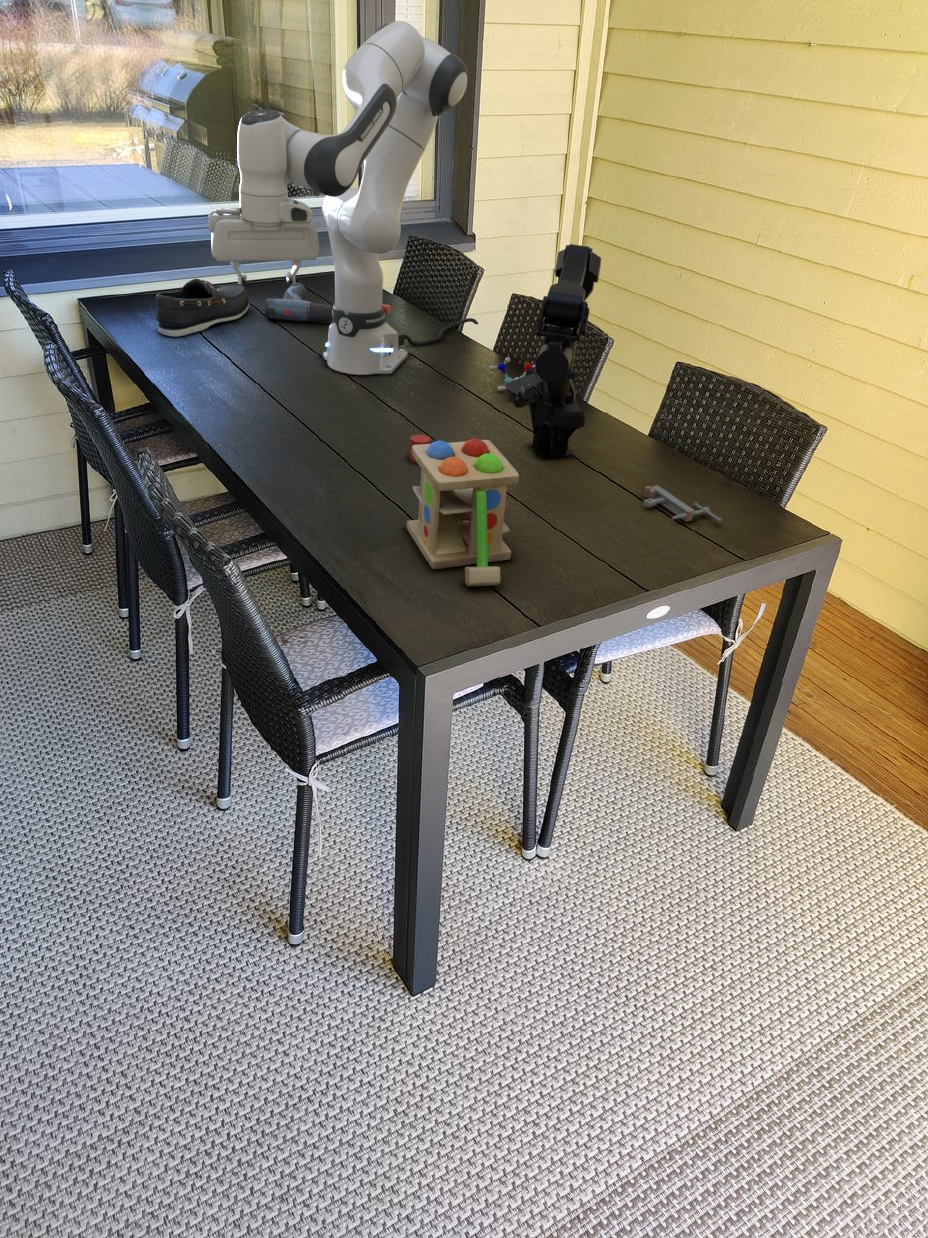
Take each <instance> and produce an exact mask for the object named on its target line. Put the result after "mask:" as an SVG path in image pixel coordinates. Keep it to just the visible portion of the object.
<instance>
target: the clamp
mask: <svg viewBox="0 0 928 1238" xmlns="http://www.w3.org/2000/svg"><path fill="white" fill-rule="evenodd" d="M643 498H647V499H644V500H643V506H644V507H646V508H651V507H656V505H659V504H660V505H662V507H664V508H665V509H668V511H670V512H671V513H673V514H674V516H672V517H671V520H673V521H674V520H680V519H681V520H683V521H684V522H691V521H693V516H697V515H702V516H704V515H709V516H710V517H712V518H713V519H715V520H716V521H717V523H719V524H721V523H722V522H723V518H722V517H719V516H717V515H715V514H714V513H712V512H711V508H710V507H708V506H705V507H703V506H701V505H699V503H698V502H697V501H695V502H694V503H693V507H694V508H698V510H695V509H693V508H692V507H691V506H689V505H687V504H686V503H685V502H683V501H682V500H680V499H679V498H677V497H676V496H674V495H673V494H671V493H670V492H669V491H667V490H666V489H664V488H663V487H660V486H659V485H657V484H656V485H653V486H650V485H649V486H645V487H644V492H643Z"/></svg>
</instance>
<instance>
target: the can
mask: <svg viewBox="0 0 928 1238" xmlns="http://www.w3.org/2000/svg"><path fill="white" fill-rule="evenodd" d="M431 442H432V439H431V437H430V436H429V435H426V434H420V433H419V434H413V435H411V436H410V444H409V445H410V447H409V460H410V461H411V462H413V463H414V464H415V463H416V464H418V463H417V462H416V460H415V459H414V457H413V456H412V446H413V445H421V444H432V443H431Z"/></svg>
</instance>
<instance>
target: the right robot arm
mask: <svg viewBox="0 0 928 1238" xmlns="http://www.w3.org/2000/svg"><path fill="white" fill-rule="evenodd" d="M593 249H594V248H593V247H590V246H588V245H581V244H572V243H570V244H566V245H565V248H564V249H562V250H560V251H558V252H557V258H556V263H555V268H554V275H555V277H556V278H557V283H554V284H551V285H550V287H549V288H548V292H547V294H546V295H544V296H543V298H542V302H541V308H540V311H539V318H538V323H537V329H536V336H537V337H543V341H542V346H541V348H540V350H539V353H538V354H537V358H536V359H535V363H534V365H535V367H534V368H533V373H532V374H528V375H526V376H523V377H521V378H519V377H518V379H516V380H513V381H511V382H509V383H507V384H506V387H507V389H506V390H507V395H508V399H509V402H511V403H512V404H513V406H514V407H515V408H517V409H521V408H524V407H525V406H526V407H527V406H528V408H529V412H530V420H531V426H532V433H533V435H532V436H533V438H532V442H531V444H530V446H531V448H532V449H533V450H534V451H535V453H536V454H537V455H538V456H539V458H541V459H557V458H558V459H559V458H570V456H571V454H570V452H569V451H568V447H569V442H570V441H569V440H570V438H571V436H572V435H573V434H574V432H576V431H577V430H579V429H581V428H584V427H585V425H586V419H587V415H586V414H585V413H584V412H583V410H581V408H580V407H579V405H578V403H579V402H578V401H576V397H577V396H576V395H577V392H576V389H575V386H574V384H573V381H572V380H574V379H575V378H576V372H575V371H574V370H573V369H574V361H575V355H576V349H577V345H578V343H579V342H581V340H582V336H586V331H587V327H588V321H589V316H590V311H591V310H590V307H589V303H588V301H587V300H588V299H589V297H590V296H591V294H592V293H593V292H594V289H595V284H596V283H599V279H600V274H601V268H602V266H601V265H602V258H601V256H599V255H598V254H596V253H595V252H593ZM543 324H544V325H543ZM577 342H578V343H577Z"/></svg>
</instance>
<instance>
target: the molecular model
mask: <svg viewBox="0 0 928 1238" xmlns="http://www.w3.org/2000/svg"><path fill="white" fill-rule="evenodd" d="M510 362H511V358H510V357H508V356H507V357H505V359H504V362H500V363H499V364H498V365H496V366H495V365H493V364H492V365H490V366H489V371H491V372H493V371H494V370H498V371H500V372H502V374H503V375H504V377H505V379H504V384H503V385H499V386H497V389H496V390H497V391H498V392H504V391H505V390H507V387H506V384H507V383H509V382H511V381H513V380H516V379H518V378H521V377H523V376H527V373H528V370H530V369H534V367H535V364H531V363H529V362H525V363H524V364H523V368H524V371H523V374H522V375H520V376H519V377H518V376H517V377H515V378H513V377H510V376H508V373H507V371H506V365H507V364H509V363H510Z"/></svg>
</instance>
